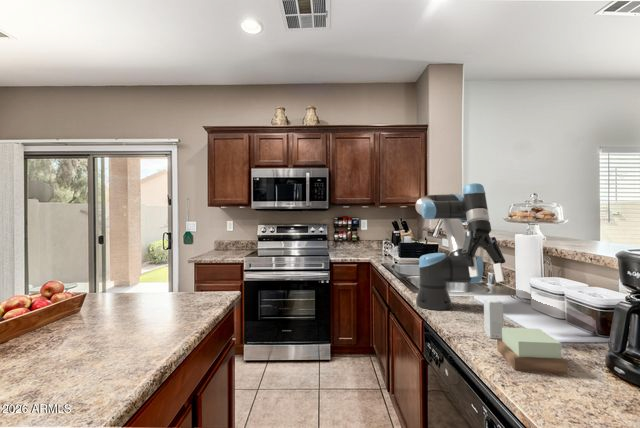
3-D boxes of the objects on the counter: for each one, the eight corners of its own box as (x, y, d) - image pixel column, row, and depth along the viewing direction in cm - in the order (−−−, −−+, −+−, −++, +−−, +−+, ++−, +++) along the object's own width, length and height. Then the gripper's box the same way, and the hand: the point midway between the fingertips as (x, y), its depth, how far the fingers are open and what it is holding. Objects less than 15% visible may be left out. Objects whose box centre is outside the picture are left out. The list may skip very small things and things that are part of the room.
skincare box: (504, 339, 99) (503, 302, 99) (490, 338, 100) (489, 302, 100) (497, 332, 105) (496, 297, 105) (484, 331, 106) (483, 297, 106)
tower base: (497, 352, 91) (497, 339, 91) (542, 355, 89) (541, 341, 89) (515, 372, 79) (514, 357, 79) (567, 376, 77) (566, 360, 77)
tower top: (502, 341, 89) (501, 327, 89) (539, 342, 88) (539, 328, 88) (518, 356, 80) (518, 341, 80) (561, 358, 78) (560, 343, 78)
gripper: (463, 212, 106) (472, 272, 98) (509, 226, 116) (520, 282, 108) (446, 218, 112) (453, 276, 104) (491, 231, 122) (500, 284, 114)
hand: (487, 279), depth 106 cm, fingers open, 13 cm apart
